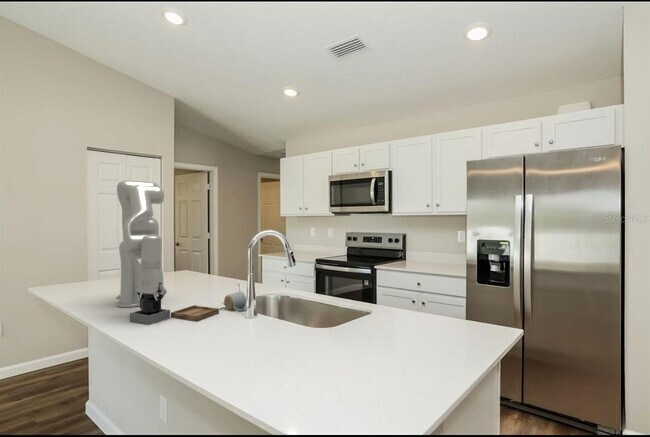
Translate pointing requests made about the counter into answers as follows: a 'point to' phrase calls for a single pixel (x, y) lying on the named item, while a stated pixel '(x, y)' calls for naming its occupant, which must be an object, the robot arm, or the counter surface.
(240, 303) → the ceramic mug
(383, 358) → the counter surface
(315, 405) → the counter surface
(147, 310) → the supplement bottle
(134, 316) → the gray open box
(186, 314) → the walnut tray
